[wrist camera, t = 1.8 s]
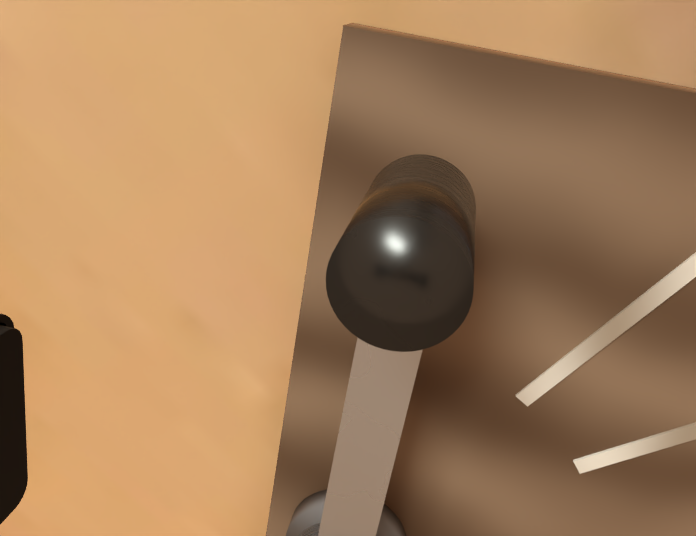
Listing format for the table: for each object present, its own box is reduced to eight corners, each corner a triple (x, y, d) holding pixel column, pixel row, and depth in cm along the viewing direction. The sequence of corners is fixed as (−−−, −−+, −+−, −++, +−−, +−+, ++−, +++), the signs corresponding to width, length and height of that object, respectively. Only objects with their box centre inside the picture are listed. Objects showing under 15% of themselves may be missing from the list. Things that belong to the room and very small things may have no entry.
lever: (370, 125, 19) (313, 195, 13) (505, 153, 19) (517, 241, 12) (288, 580, 27) (228, 764, 21) (380, 606, 27) (348, 802, 20)
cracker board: (352, 23, 21) (336, 27, 18) (985, 144, 19) (1054, 166, 17) (269, 551, 31) (252, 596, 29) (675, 666, 29) (692, 724, 27)
